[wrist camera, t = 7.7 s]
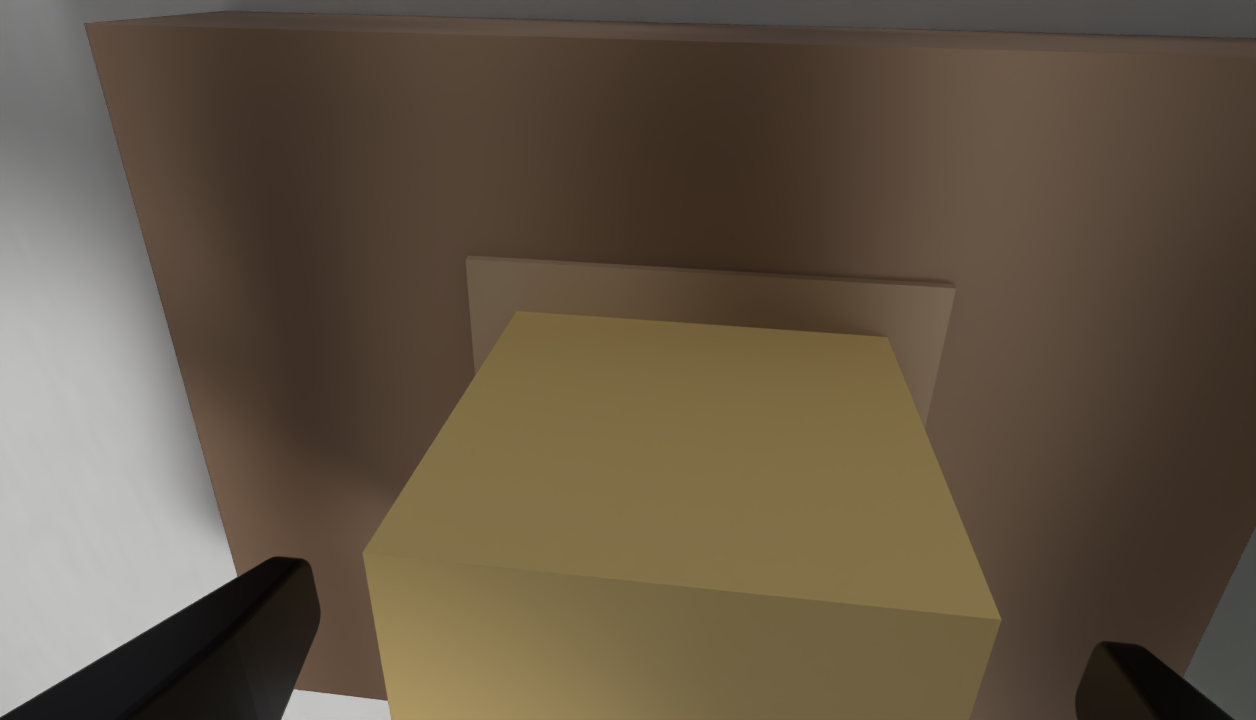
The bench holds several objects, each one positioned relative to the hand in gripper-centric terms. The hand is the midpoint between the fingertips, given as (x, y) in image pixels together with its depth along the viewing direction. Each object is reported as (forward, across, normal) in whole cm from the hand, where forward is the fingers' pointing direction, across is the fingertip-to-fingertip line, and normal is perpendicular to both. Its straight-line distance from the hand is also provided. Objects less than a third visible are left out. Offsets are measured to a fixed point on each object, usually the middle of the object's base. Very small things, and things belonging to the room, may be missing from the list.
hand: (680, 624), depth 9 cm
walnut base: (+6, 0, 0) cm, 6 cm away
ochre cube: (+3, 0, 0) cm, 3 cm away
